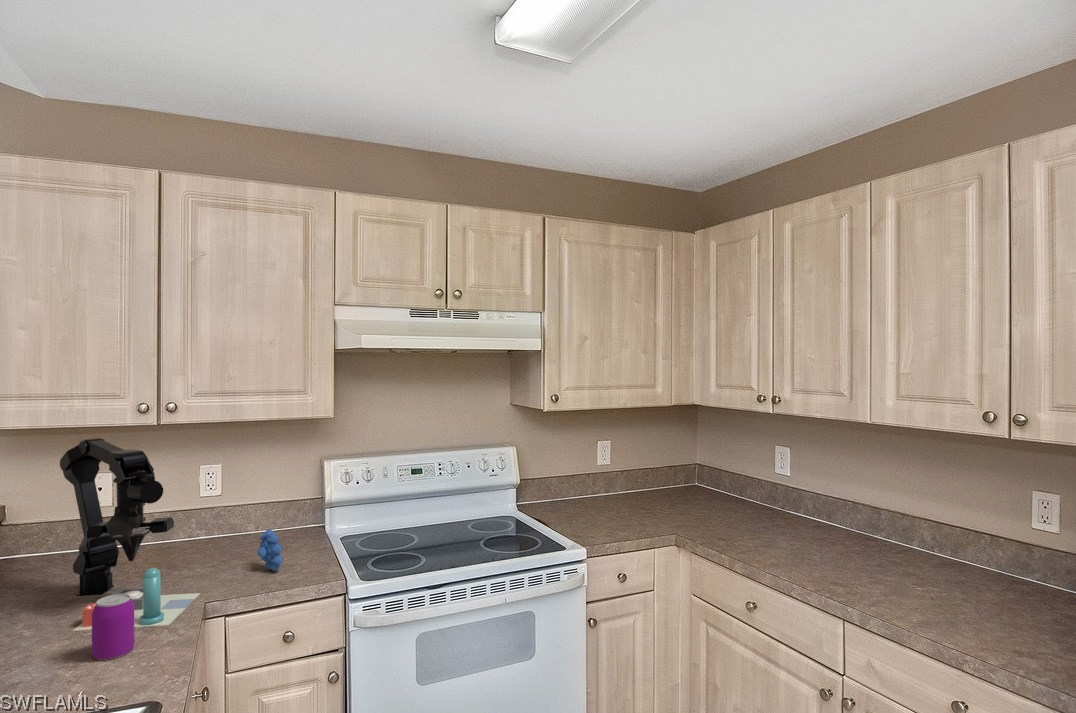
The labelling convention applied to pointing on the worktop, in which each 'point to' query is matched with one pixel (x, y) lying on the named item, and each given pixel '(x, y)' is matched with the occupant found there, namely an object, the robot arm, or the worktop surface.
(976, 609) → the worktop surface
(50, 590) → the worktop surface
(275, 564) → the grapes
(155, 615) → the teal dildo
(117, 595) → the beverage can
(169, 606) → the board
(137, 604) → the tray
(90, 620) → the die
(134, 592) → the dome
